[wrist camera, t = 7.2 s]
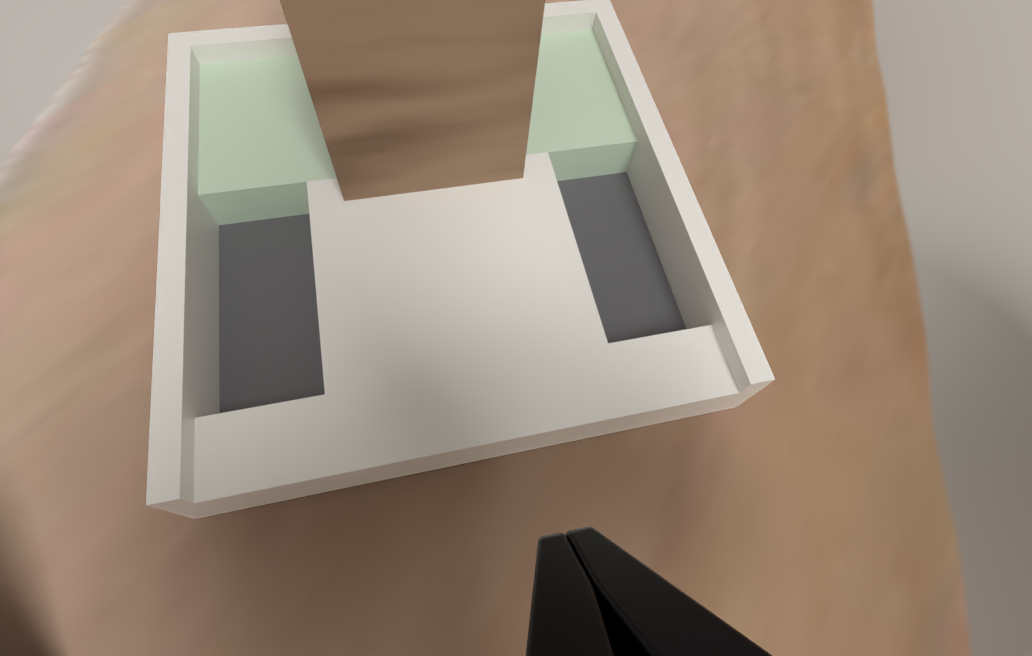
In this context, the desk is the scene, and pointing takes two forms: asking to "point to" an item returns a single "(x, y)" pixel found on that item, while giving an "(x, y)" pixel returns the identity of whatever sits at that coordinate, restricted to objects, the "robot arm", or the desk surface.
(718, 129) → the desk surface
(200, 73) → the box
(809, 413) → the desk surface
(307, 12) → the walnut block
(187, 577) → the desk surface
